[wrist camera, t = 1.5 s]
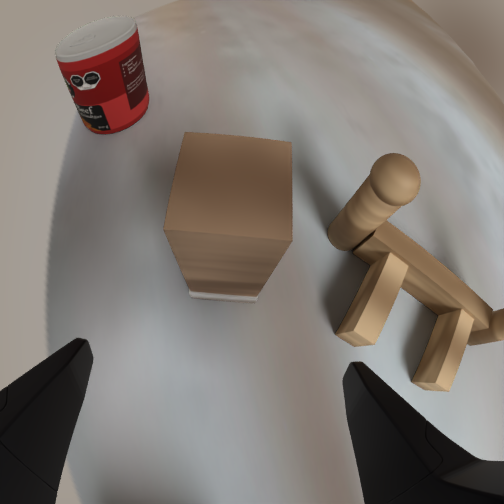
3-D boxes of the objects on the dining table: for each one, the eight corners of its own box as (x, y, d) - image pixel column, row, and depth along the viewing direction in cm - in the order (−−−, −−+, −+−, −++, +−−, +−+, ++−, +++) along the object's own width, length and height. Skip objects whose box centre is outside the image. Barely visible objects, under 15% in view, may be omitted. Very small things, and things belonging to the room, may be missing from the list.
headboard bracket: (454, 407, 21) (538, 411, 10) (281, 300, 23) (330, 254, 13) (483, 324, 24) (559, 302, 14) (335, 210, 26) (392, 133, 16)
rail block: (253, 304, 22) (294, 243, 10) (192, 299, 22) (160, 231, 10) (256, 247, 24) (293, 141, 12) (198, 241, 24) (183, 130, 11)
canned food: (78, 113, 27) (49, 42, 17) (135, 82, 30) (121, 9, 19) (96, 148, 26) (60, 68, 15) (161, 112, 28) (149, 27, 18)
